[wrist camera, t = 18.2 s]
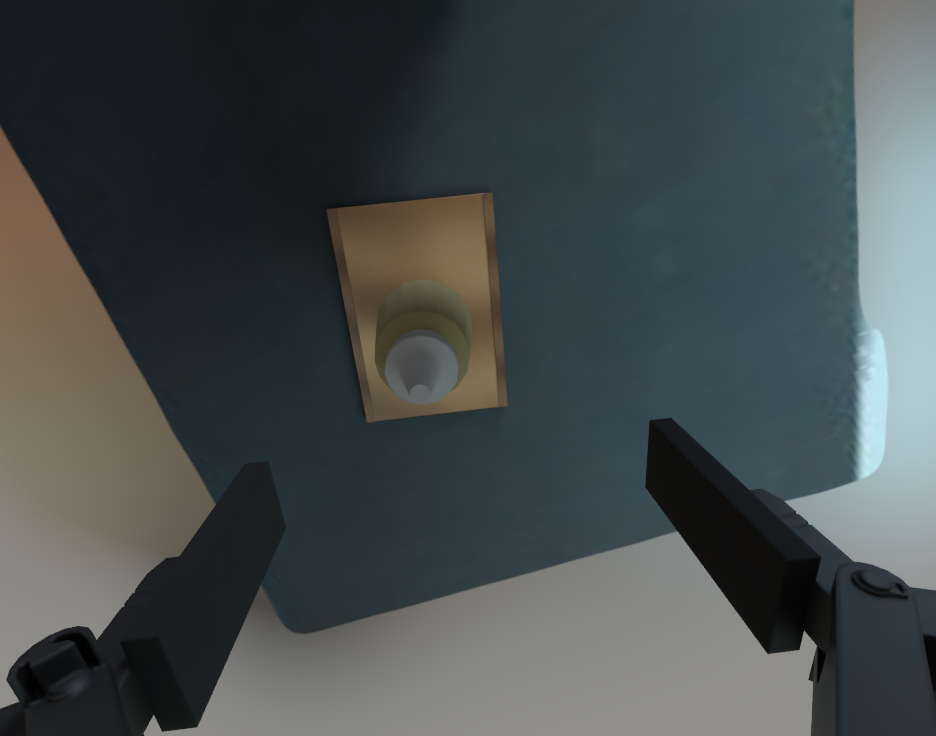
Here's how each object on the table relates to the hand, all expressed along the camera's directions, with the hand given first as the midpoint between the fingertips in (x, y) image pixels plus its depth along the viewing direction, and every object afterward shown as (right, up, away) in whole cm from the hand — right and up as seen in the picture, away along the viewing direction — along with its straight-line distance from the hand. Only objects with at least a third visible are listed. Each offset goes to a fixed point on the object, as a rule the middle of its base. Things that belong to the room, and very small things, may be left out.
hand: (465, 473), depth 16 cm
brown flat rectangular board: (-4, +9, +27) cm, 28 cm away
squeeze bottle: (-4, +8, +27) cm, 28 cm away
